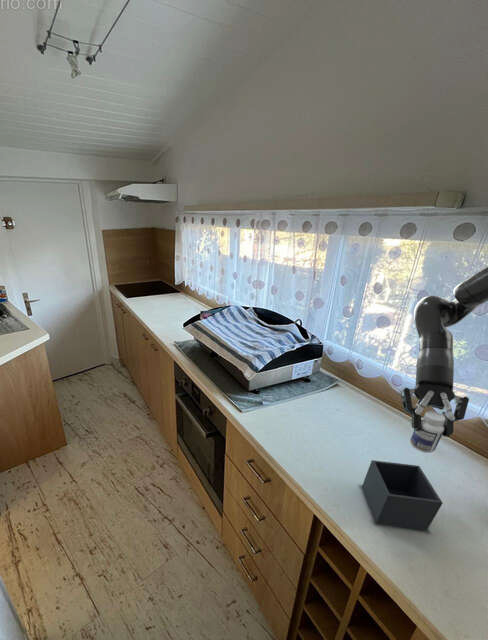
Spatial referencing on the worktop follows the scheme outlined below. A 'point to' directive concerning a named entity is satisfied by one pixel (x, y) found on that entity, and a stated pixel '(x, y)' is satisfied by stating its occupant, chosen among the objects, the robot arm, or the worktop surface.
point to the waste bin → (400, 495)
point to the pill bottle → (428, 432)
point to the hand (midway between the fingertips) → (431, 433)
